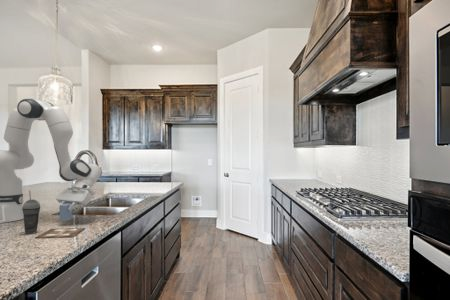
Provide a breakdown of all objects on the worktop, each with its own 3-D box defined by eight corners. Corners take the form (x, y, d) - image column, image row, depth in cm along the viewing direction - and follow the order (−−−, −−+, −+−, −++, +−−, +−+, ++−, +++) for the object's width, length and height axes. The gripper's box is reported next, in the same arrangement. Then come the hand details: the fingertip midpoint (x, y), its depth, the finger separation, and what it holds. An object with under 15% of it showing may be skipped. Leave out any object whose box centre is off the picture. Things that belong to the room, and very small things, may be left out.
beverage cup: (30, 235, 126) (31, 191, 127) (17, 234, 128) (18, 191, 128) (43, 230, 134) (44, 189, 134) (31, 229, 135) (32, 189, 135)
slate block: (64, 221, 142) (65, 205, 142) (59, 220, 144) (59, 205, 144) (71, 219, 146) (71, 204, 146) (66, 218, 148) (66, 203, 148)
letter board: (35, 238, 122) (35, 237, 122) (50, 229, 136) (50, 228, 136) (73, 237, 124) (73, 236, 124) (85, 228, 138) (85, 227, 138)
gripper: (63, 184, 155) (46, 204, 146) (91, 186, 148) (75, 207, 139) (70, 191, 159) (54, 211, 150) (97, 193, 152) (82, 214, 143)
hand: (64, 209), depth 144 cm, fingers closed on slate block, 4 cm apart
